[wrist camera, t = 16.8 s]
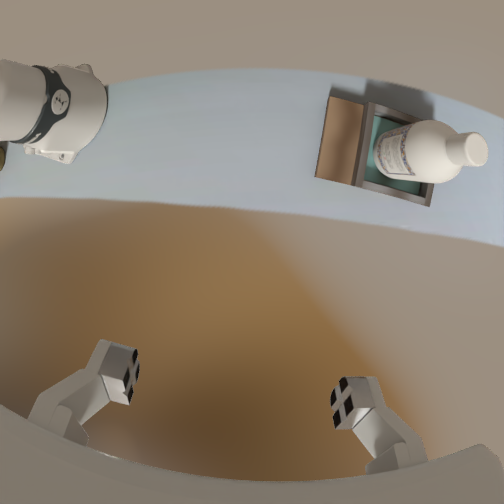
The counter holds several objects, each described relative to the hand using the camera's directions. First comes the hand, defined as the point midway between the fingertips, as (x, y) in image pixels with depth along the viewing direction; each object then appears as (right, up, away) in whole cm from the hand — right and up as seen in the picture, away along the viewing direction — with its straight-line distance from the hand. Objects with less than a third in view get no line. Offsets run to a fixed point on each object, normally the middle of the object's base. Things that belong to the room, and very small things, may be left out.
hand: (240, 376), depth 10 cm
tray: (+19, +20, +28) cm, 39 cm away
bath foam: (+20, +19, +26) cm, 38 cm away
